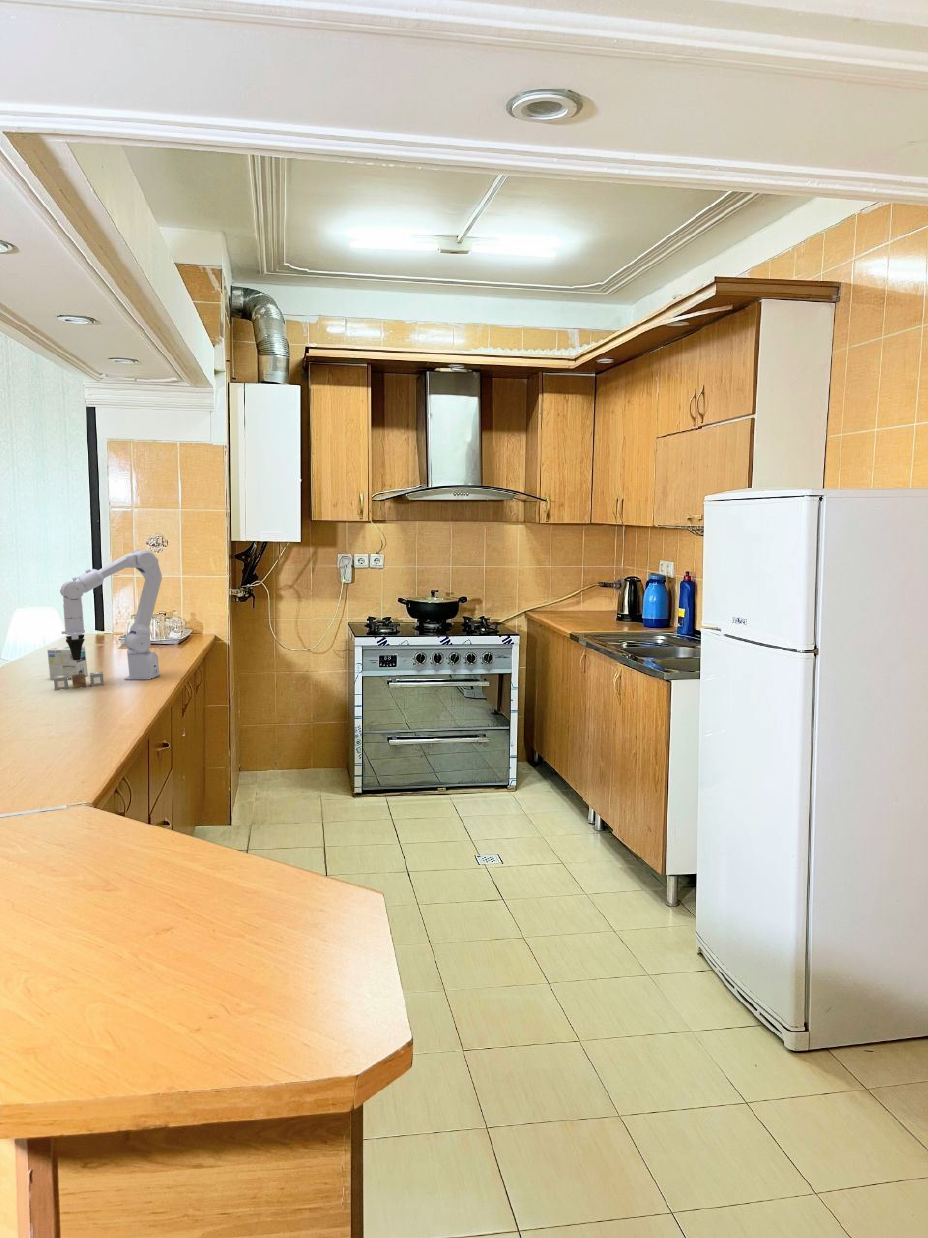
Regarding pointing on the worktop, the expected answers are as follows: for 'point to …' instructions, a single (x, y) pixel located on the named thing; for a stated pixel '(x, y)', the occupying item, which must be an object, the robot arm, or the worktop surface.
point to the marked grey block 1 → (60, 682)
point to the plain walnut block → (79, 680)
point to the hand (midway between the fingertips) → (76, 658)
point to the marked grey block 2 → (96, 678)
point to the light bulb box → (66, 662)
